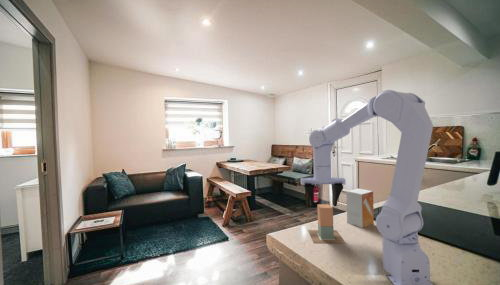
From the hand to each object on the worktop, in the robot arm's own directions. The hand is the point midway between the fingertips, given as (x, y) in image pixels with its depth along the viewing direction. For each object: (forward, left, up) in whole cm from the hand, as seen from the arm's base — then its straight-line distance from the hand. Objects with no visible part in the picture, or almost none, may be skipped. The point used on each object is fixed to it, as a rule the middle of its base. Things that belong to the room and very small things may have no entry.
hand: (323, 205), depth 73 cm
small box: (+10, -16, -11) cm, 22 cm away
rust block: (-2, 0, -6) cm, 6 cm away
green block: (-2, 0, -10) cm, 10 cm away
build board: (-2, 0, -11) cm, 11 cm away
